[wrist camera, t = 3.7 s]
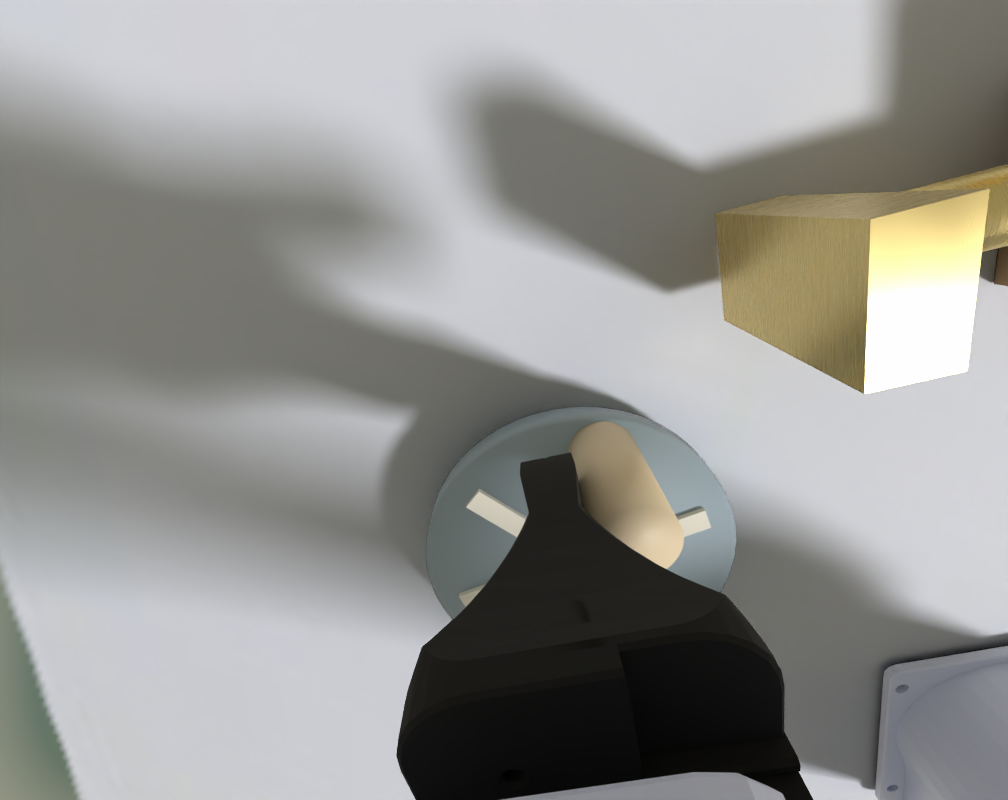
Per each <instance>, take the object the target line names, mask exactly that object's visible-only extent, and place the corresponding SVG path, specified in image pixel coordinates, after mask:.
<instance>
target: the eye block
mask: <svg viewBox="0 0 1008 800" xmlns="http://www.w3.org/2000/svg"><path fill="white" fill-rule="evenodd" d="M994 284H998V285H1005V286H1008V246H1005V247H1001V248H999V251H998V258H997V265H996V273H995V280H994Z"/></svg>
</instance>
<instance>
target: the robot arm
mask: <svg viewBox="0 0 1008 800" xmlns="http://www.w3.org/2000/svg"><path fill="white" fill-rule="evenodd" d="M520 478H521V482H522V486H523V490H524V495H525V499H526V503H527V507H528V512H529V514H528V516H527V518H526V520H525V523H524V525H523V527H522V529H521V531H520V533H519V535H518V537H517V538H516V540H515V542H514V544H513V545H512V547H511V549H510V550H509V552H508V554H507V555H506V557H505V558H504V560H503V561H502V563H501V564H500V566H499V567H498V569H497V570H496V571H495V573H494V574H493V576H492V577H491V578H490V580H489V581H488V582H487V583H486V585H485V586H484V587H483V588H482V589H481V591H480V592H479V593H478V594H477V595H476V596H475V597H474V599H473V600H472V601H471V602H470V603H469V604H468V605H467V606H466V607H465V608H464V609H463V610H462V611H461V612H460V613H459V614H458V615H457V616H456V617H455V618H454V619H453V620H452V621H451V622H450V623H449V624H448V625H447V626H445V627H444V628H443V629H442V630H441V631H440V632H439V633H438V634H437V635H435V636H434V637H433V638H432V639H431V640H430V641H429V642H427V643H426V644H425V645H424V646H423V647H422V649H421V652H420V654H419V657H418V660H417V663H416V666H415V669H414V673H413V676H412V679H411V682H410V685H409V688H408V692H407V696H406V701H405V705H404V711H403V717H402V722H401V728H400V733H399V739H398V747H397V755H396V756H397V759H398V763H399V766H400V769H401V772H402V774H403V776H404V778H405V780H406V782H407V784H408V785H409V787H410V789H411V791H412V793H413V795H414V797H415V799H416V800H813V798H812V796H811V795H810V793H809V791H808V789H807V787H806V785H805V783H804V781H803V779H802V777H801V775H800V774H799V772H798V771H800V763H799V760H798V757H797V755H796V753H795V751H794V749H793V747H792V746H791V744H790V742H789V740H788V738H787V736H786V734H785V732H784V682H783V677H782V672H781V669H780V667H779V666H778V664H777V662H776V660H775V658H774V657H773V655H772V653H771V652H770V650H769V649H768V647H767V645H766V644H765V643H764V641H763V640H762V639H761V637H760V636H759V635H758V633H757V632H756V631H755V629H754V628H753V627H752V626H751V624H750V623H749V622H748V621H747V619H746V618H745V617H744V616H743V614H742V613H741V612H740V611H739V610H738V609H737V607H736V606H735V605H734V604H733V603H732V602H731V601H730V599H729V598H728V597H727V596H726V595H724V594H722V593H720V592H717V591H715V590H712V589H710V588H708V587H705V586H703V585H700V584H698V583H695V582H693V581H691V580H688V579H686V578H683V577H681V576H679V575H677V574H675V573H673V572H671V571H669V570H667V569H665V568H663V567H661V566H659V565H658V564H656V563H654V562H653V561H651V560H649V559H648V558H646V557H645V556H643V555H641V554H640V553H638V552H636V551H635V550H633V549H632V548H630V547H629V546H627V545H626V544H625V543H623V542H622V541H621V540H619V539H618V538H616V537H615V536H614V535H613V534H611V533H610V532H609V531H608V530H606V529H605V528H604V527H603V526H602V525H600V524H599V523H598V522H597V521H596V520H595V519H594V518H593V517H592V516H591V515H590V514H589V513H588V512H587V511H586V510H585V509H584V507H583V502H582V497H581V492H580V486H579V481H578V476H577V471H576V466H575V462H574V459H573V456H572V454H571V452H570V453H565V454H560V455H555V456H550V457H547V458H546V459H545V458H540V459H535V460H530V461H525V462H521V464H520ZM875 795H876V797H877V798H878V800H1008V646H1003V647H997V648H991V649H985V650H979V651H973V652H967V653H961V654H955V655H949V656H943V657H937V658H931V659H925V660H919V661H913V662H907V663H901V664H895V665H892V666H890V667H888V668H887V669H886V670H885V672H884V676H883V690H882V704H881V718H880V733H879V747H878V761H877V775H876V789H875Z"/></svg>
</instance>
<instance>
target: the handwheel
mask: <svg viewBox="0 0 1008 800" xmlns="http://www.w3.org/2000/svg"><path fill="white" fill-rule="evenodd" d="M570 452H571V454H572V456H573V459H574V462H575V466H576V471H577V476H578V481H579V486H580V492H581V497H582V502H583V507H584V509H585V510H586V511H587V512H588V513H589V514H590V515H591V516H592V517H593V518H594V519H595V520H596V521H597V522H598V523H599V524H600V525H602V526H603V527H604V528H605V529H606V530H608V531H609V532H610V533H611V534H613V535H614V536H615V537H616V538H618V539H619V540H621V541H622V542H623V543H625V544H626V545H627V546H629V547H630V548H632V549H633V550H635V551H636V552H638V553H640V554H641V555H643V556H645V557H646V558H648V559H649V560H651V561H653V562H654V563H656V564H658V565H659V566H661V567H663V568H665V569H667V570H669V571H671V572H673V573H675V574H677V575H679V576H681V577H683V578H686V579H688V580H691V581H693V582H695V583H698V584H700V585H703V586H705V587H708V588H710V589H712V590H715V591H717V592H721V590H722V589H723V587H724V585H725V583H726V580H727V578H728V576H729V574H730V571H731V567H732V564H733V560H734V557H735V548H736V523H735V519H734V515H733V510H732V506H731V504H730V502H729V499H728V497H727V495H726V492H725V490H724V489H723V487H722V486H721V484H720V482H719V481H718V479H717V478H716V476H715V475H714V474H713V472H712V471H711V470H710V468H709V467H708V466H707V464H706V463H705V462H704V461H703V459H702V458H701V457H700V456H699V455H698V454H697V453H696V451H695V450H694V449H693V448H692V447H691V446H690V445H689V444H688V443H686V442H685V441H684V440H683V439H682V438H680V437H679V436H678V435H677V434H675V433H674V432H672V431H670V430H669V429H667V428H665V427H664V426H662V425H660V424H658V423H656V422H654V421H651V420H649V419H647V418H644V417H642V416H639V415H635V414H632V413H628V412H625V411H621V410H614V409H607V408H601V407H572V408H561V409H555V410H550V411H545V412H540V413H536V414H533V415H530V416H527V417H524V418H521V419H518V420H516V421H514V422H512V423H510V424H508V425H506V426H503V427H501V428H499V429H497V430H496V431H494V432H493V433H491V434H490V435H488V436H487V437H485V438H484V439H482V440H481V441H480V442H478V443H477V444H476V445H475V446H474V447H472V448H471V449H470V450H469V451H468V452H467V453H466V454H465V455H464V456H463V457H462V458H461V459H460V460H459V461H458V463H457V464H456V465H455V466H454V467H453V469H452V470H451V472H450V473H449V475H448V476H447V478H446V479H445V481H444V483H443V485H442V487H441V489H440V491H439V493H438V496H437V498H436V502H435V505H434V509H433V512H432V516H431V520H430V525H429V529H428V534H427V543H426V563H427V568H428V573H429V578H430V581H431V584H432V586H433V589H434V592H435V594H436V596H437V598H438V599H439V601H440V603H441V605H442V606H443V608H444V609H445V611H446V612H447V613H448V614H449V616H450V617H451V618H452V620H453V619H454V618H455V617H456V616H457V615H458V614H459V613H460V612H461V611H462V610H463V609H464V608H465V607H466V606H467V605H468V604H469V603H470V602H471V601H472V600H473V599H474V597H475V596H476V595H477V594H478V593H479V592H480V591H481V589H482V588H483V587H484V586H485V585H486V583H487V582H488V581H489V580H490V578H491V577H492V576H493V574H494V573H495V571H496V570H497V569H498V567H499V566H500V564H501V563H502V561H503V560H504V558H505V557H506V555H507V554H508V552H509V550H510V549H511V547H512V545H513V544H514V542H515V540H516V538H517V537H518V535H519V533H520V531H521V529H522V527H523V525H524V523H525V520H526V518H527V516H528V514H529V512H528V507H527V503H526V499H525V495H524V490H523V486H522V482H521V478H520V464H521V462H525V461H530V460H535V459H540V458H545V459H546V458H547V457H550V456H555V455H560V454H565V453H570Z"/></svg>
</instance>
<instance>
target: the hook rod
mask: <svg viewBox="0 0 1008 800" xmlns="http://www.w3.org/2000/svg"><path fill="white" fill-rule="evenodd" d="M715 214H716V226H717V238H718V250H719V262H720V275H721V287H722V299H723V311H724V320H725V321H727V322H729V323H730V324H732V325H734V326H736V327H738V328H740V329H742V330H744V331H746V332H748V333H749V334H751V335H753V336H755V337H757V338H759V339H761V340H763V341H765V342H767V343H768V344H770V345H772V346H774V347H776V348H778V349H780V350H782V351H784V352H785V353H787V354H789V355H791V356H793V357H795V358H797V359H799V360H801V361H803V362H804V363H806V364H808V365H810V366H812V367H814V368H816V369H818V370H820V371H822V372H823V373H825V374H827V375H829V376H831V377H833V378H835V379H837V380H839V381H841V382H842V383H844V384H846V385H848V386H850V387H852V388H854V389H856V390H858V391H860V392H861V393H863V394H867V393H871V392H876V391H880V390H885V389H889V388H894V387H898V386H903V385H907V384H911V383H916V382H920V381H925V380H929V379H934V378H938V377H943V376H947V375H952V374H956V373H961V372H965V371H967V368H968V360H969V352H970V344H971V336H972V328H973V320H974V312H975V304H976V296H977V288H978V280H979V272H980V264H981V256H982V252H985V251H989V250H993V249H997V248H1001V247H1005V246H1008V164H1005V165H1001V166H997V167H993V168H990V169H986V170H982V171H978V172H974V173H971V174H967V175H963V176H959V177H955V178H952V179H948V180H944V181H940V182H937V183H933V184H929V185H925V186H921V187H918V188H914V189H910V190H906V191H902V192H873V193H845V194H816V195H787V196H778V197H774V198H771V199H767V200H763V201H760V202H756V203H752V204H748V205H745V206H741V207H737V208H734V209H730V210H726V211H723V212H719V213H715Z"/></svg>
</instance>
